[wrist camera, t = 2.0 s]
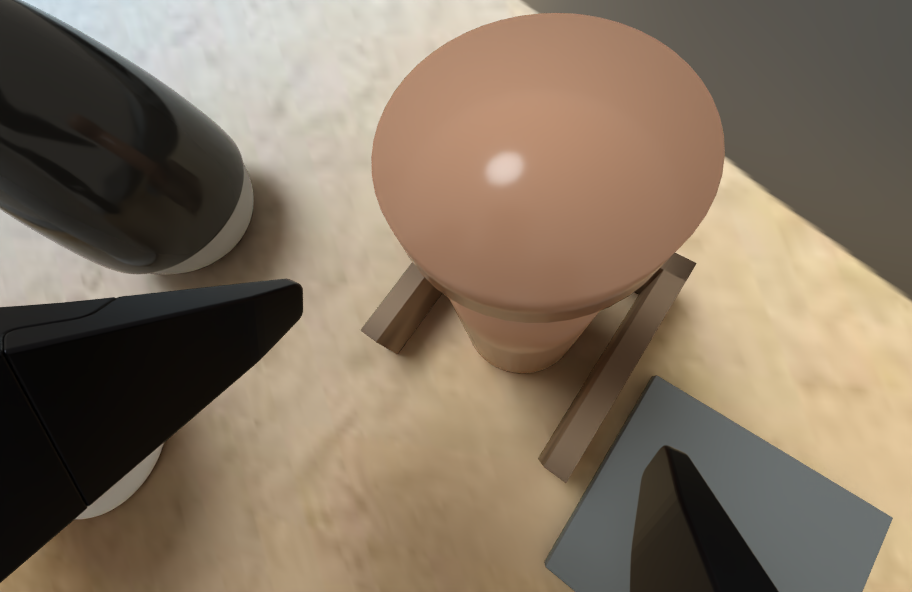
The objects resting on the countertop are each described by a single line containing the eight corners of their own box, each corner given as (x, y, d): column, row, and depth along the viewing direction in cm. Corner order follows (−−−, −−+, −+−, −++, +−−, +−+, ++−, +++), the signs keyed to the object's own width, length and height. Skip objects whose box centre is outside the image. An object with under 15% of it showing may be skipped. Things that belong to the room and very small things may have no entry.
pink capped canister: (541, 407, 19) (606, 379, 6) (435, 334, 21) (307, 190, 8) (609, 300, 20) (788, 78, 7) (503, 240, 22) (489, -21, 9)
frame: (556, 471, 18) (565, 483, 15) (383, 344, 21) (360, 330, 18) (666, 289, 20) (696, 263, 17) (493, 197, 23) (490, 160, 20)
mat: (777, 755, 14) (788, 768, 14) (544, 561, 17) (545, 567, 16) (879, 514, 16) (892, 517, 15) (652, 376, 19) (656, 375, 18)
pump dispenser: (167, 161, 28) (-190, -107, 14) (295, 160, 26) (39, -148, 12) (116, 291, 25) (-407, 119, 11) (258, 299, 23) (-143, 107, 9)
